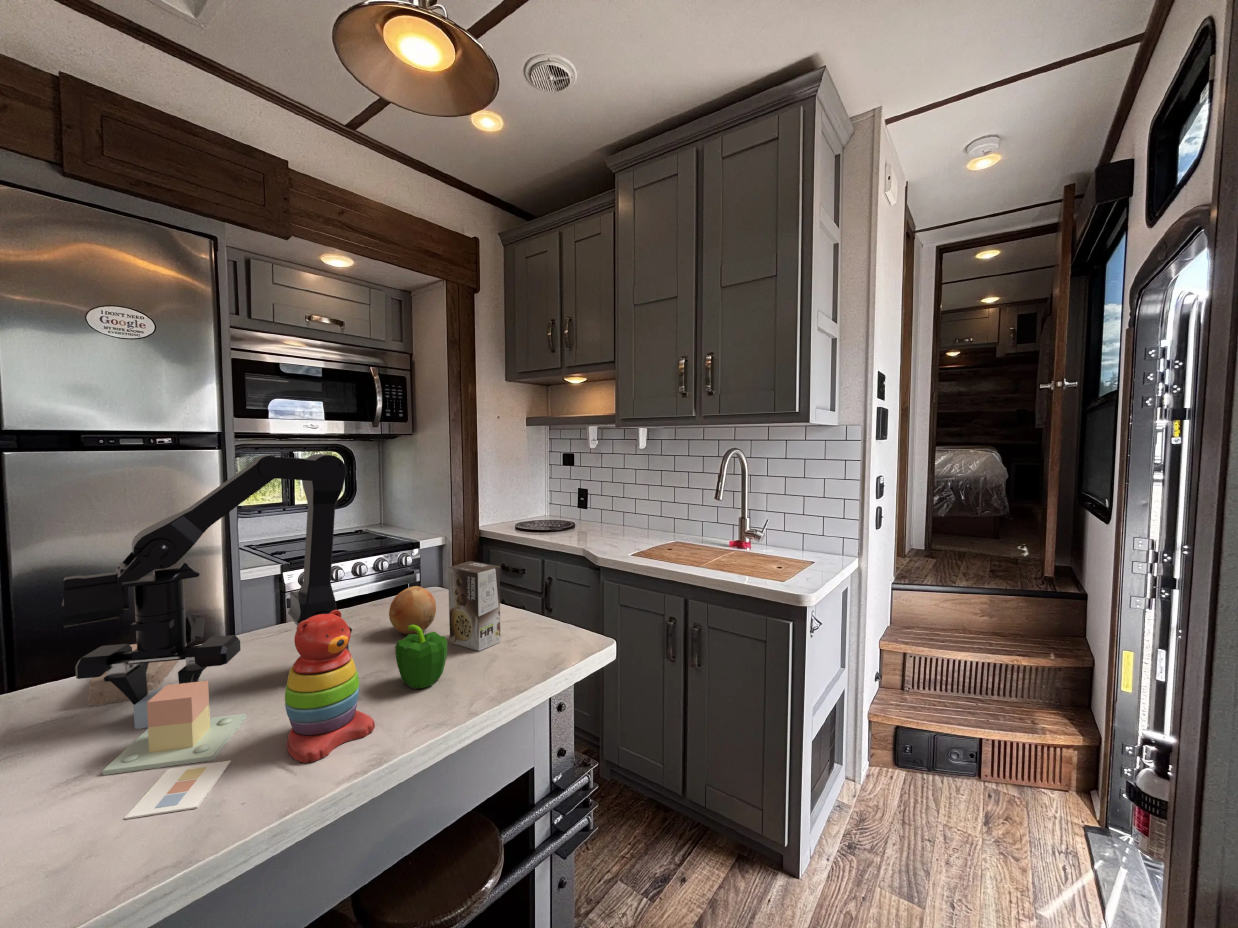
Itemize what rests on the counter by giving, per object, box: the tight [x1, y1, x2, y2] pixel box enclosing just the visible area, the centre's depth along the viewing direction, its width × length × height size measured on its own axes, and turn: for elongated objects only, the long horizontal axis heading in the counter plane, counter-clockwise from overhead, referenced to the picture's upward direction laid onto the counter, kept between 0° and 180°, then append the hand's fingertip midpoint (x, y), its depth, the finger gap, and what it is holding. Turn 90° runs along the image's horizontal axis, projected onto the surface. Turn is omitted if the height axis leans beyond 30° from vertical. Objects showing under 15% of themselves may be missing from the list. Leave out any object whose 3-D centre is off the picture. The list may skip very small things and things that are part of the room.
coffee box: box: [447, 560, 501, 652], centre depth 111 cm, size 9×6×16 cm
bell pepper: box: [394, 625, 448, 689], centre depth 93 cm, size 8×8×10 cm
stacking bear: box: [284, 609, 376, 764], centre depth 76 cm, size 11×10×18 cm
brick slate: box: [133, 688, 163, 730], centre depth 81 cm, size 5×5×4 cm
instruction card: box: [124, 760, 232, 820], centre depth 65 cm, size 7×9×1 cm
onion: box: [388, 585, 437, 635], centre depth 116 cm, size 10×10×10 cm
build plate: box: [102, 704, 247, 776], centre depth 75 cm, size 12×11×4 cm
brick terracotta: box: [147, 680, 210, 729], centre depth 74 cm, size 5×5×4 cm
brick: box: [88, 643, 179, 707], centre depth 93 cm, size 17×8×5 cm, turn 26°
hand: (165, 709), depth 82 cm, fingers closed on brick slate, 5 cm apart
